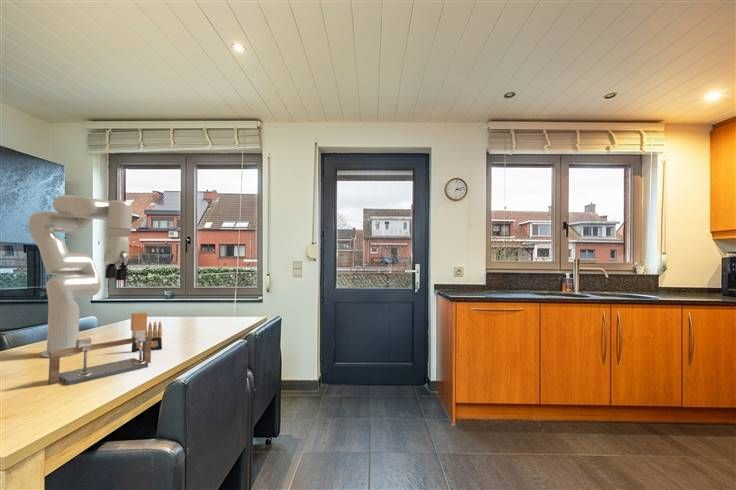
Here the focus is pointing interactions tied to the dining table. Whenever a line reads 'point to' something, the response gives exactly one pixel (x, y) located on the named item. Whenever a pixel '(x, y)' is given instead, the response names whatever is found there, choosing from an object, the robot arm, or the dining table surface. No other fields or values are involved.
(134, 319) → the sliding leg
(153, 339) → the ammunition clip
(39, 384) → the dining table surface
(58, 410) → the dining table surface
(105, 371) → the bolt plate
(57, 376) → the divider frame
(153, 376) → the dining table surface
